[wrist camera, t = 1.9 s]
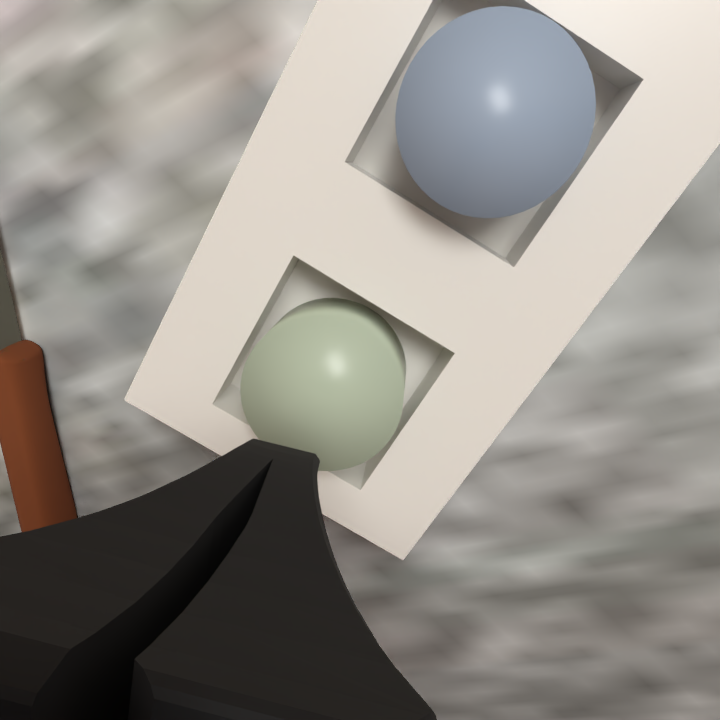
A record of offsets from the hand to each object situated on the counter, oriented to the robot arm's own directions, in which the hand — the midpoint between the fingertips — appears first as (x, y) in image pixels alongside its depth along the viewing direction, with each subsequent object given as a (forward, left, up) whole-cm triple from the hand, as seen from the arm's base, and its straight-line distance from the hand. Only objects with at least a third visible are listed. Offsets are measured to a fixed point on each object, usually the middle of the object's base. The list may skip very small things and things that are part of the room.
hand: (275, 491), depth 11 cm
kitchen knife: (+9, +6, -10) cm, 15 cm away
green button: (0, 0, -7) cm, 7 cm away
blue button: (0, -8, -7) cm, 11 cm away
